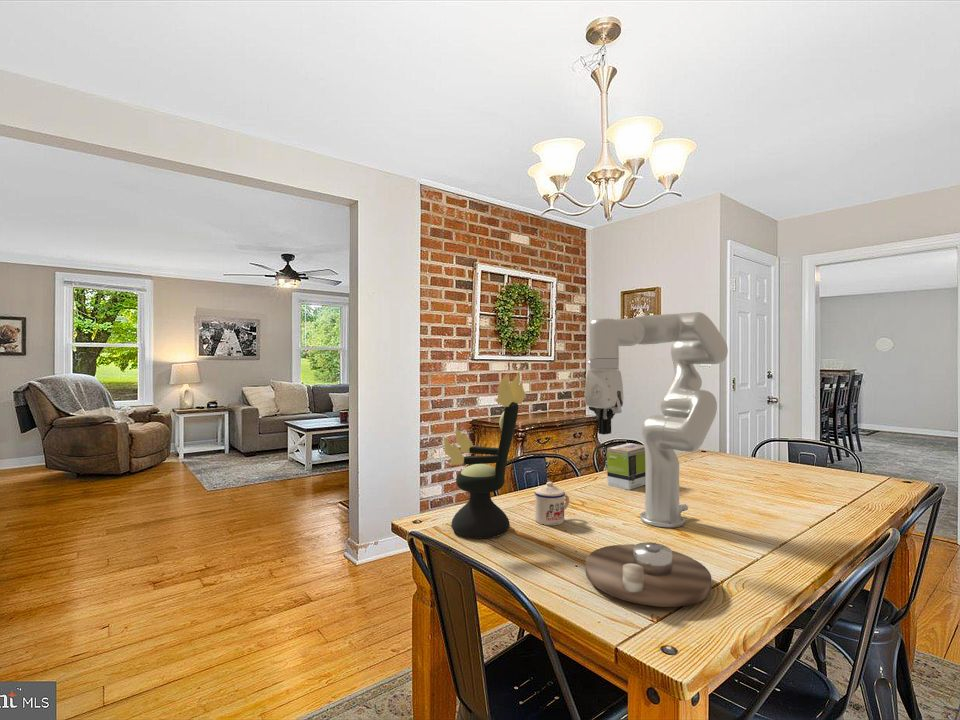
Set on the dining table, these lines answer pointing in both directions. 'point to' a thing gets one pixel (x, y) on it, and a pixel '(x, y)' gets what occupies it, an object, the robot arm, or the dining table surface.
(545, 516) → the teacup with lid
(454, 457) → the toy pedestal armchair
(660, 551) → the cap
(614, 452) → the tea box
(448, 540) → the dining table surface
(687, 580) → the turntable
